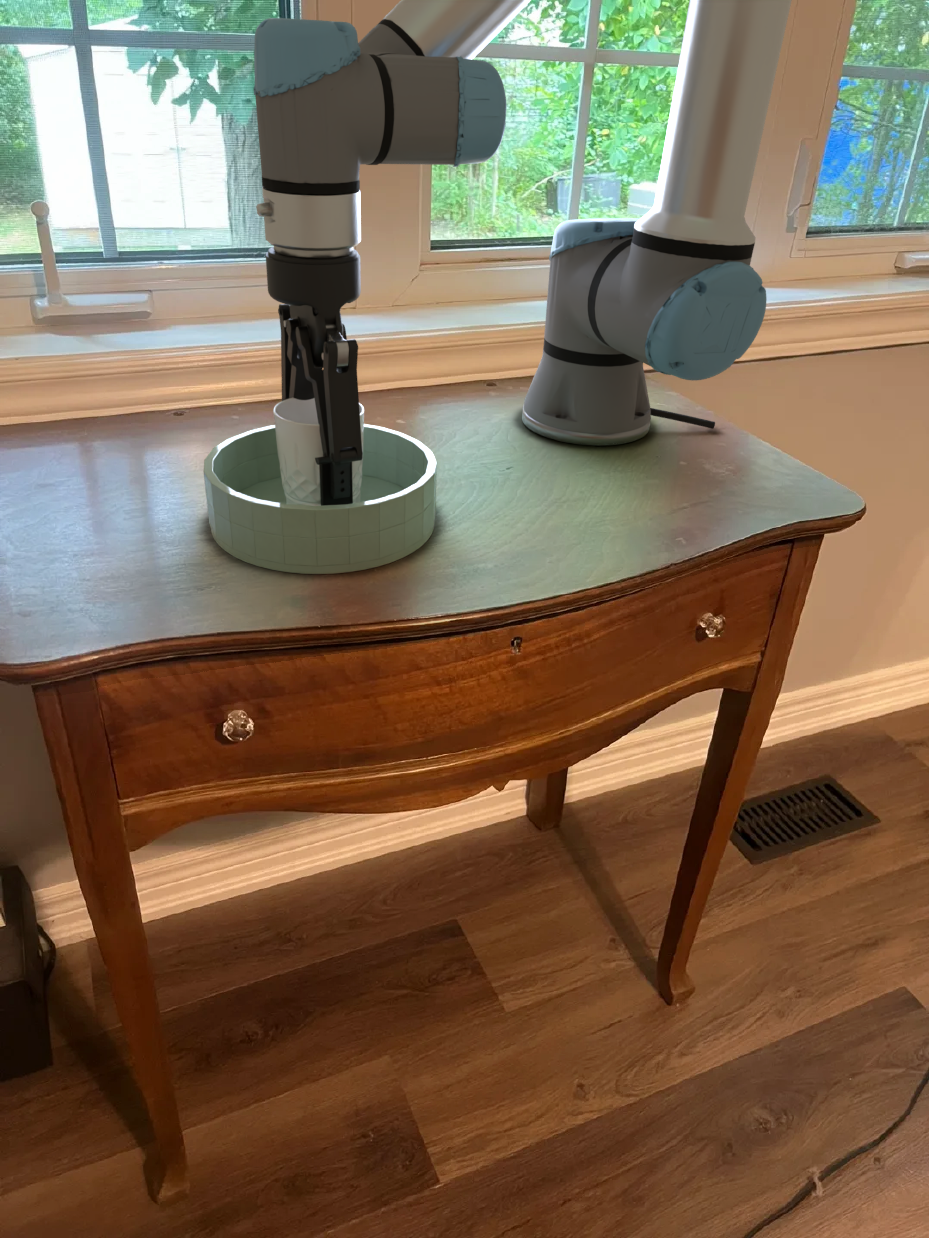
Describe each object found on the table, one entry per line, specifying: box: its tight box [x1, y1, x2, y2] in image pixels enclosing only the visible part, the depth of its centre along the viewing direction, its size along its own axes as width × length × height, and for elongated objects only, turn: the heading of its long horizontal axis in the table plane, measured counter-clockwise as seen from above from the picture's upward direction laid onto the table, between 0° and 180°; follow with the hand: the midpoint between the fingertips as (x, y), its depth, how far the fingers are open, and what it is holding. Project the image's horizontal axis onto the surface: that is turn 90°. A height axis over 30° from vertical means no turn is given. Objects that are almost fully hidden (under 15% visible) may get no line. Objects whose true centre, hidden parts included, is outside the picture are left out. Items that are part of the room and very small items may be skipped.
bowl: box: [203, 423, 438, 575], centre depth 86 cm, size 21×21×6 cm
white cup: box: [272, 398, 365, 506], centre depth 85 cm, size 8×8×10 cm
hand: (322, 507), depth 87 cm, fingers closed on white cup, 8 cm apart
